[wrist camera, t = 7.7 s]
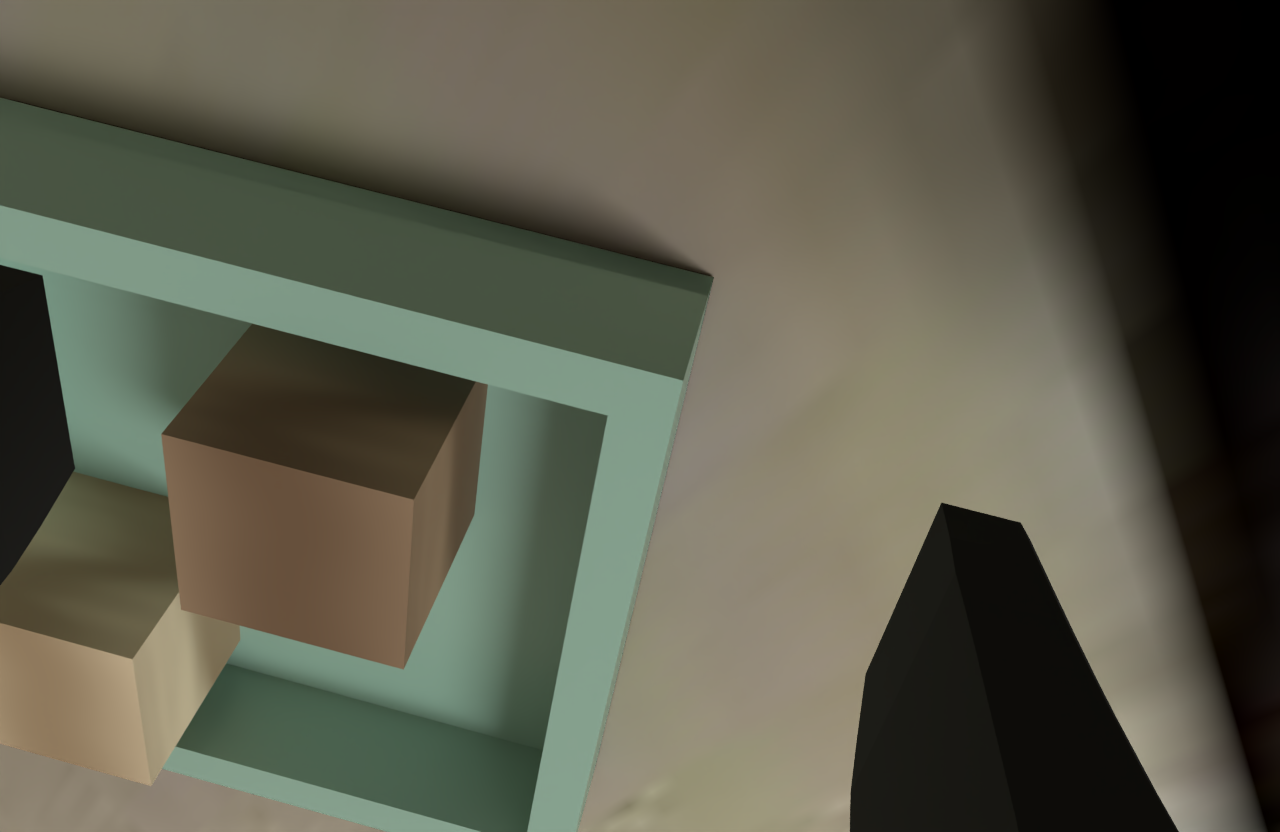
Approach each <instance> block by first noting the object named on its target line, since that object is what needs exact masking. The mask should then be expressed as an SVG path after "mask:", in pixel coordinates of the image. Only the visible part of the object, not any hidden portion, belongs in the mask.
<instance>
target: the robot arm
mask: <svg viewBox="0 0 1280 832" xmlns="http://www.w3.org/2000/svg"><path fill="white" fill-rule="evenodd" d="M74 470H75V465H74V459H73V453H72V447H71V441H70V435H69V429H68V423H67V417H66V411H65V406H64V400H63V394H62V388H61V382H60V376H59V370H58V364H57V358H56V352H55V346H54V340H53V334H52V328H51V322H50V316H49V310H48V304H47V299H46V293H45V287H44V281H43V275H39V274H35V273H31V272H27V271H23V270H19V269H15V268H11V267H7V266H3V265H0V585H1V584H2V583H3V581H4V580H5V579H6V578H7V576H8V575H9V574H10V573H11V571H12V570H13V568H14V567H15V565H16V564H17V562H18V561H19V559H20V558H21V556H22V555H23V553H24V551H25V550H26V548H27V547H28V545H29V544H30V542H31V541H32V539H33V538H34V536H35V534H36V533H37V531H38V530H39V528H40V527H41V525H42V524H43V522H44V520H45V518H46V517H47V515H48V513H49V512H50V510H51V508H52V507H53V505H54V503H55V502H56V500H57V498H58V497H59V495H60V493H61V492H62V490H63V488H64V486H65V485H66V483H67V481H68V480H69V478H70V476H71V475H72V473H73V471H74ZM850 832H1179V831H1178V830H1177V828H1176V826H1175V824H1174V823H1173V821H1172V819H1171V817H1170V816H1169V814H1168V812H1167V810H1166V809H1165V807H1164V805H1163V803H1162V801H1161V800H1160V798H1159V796H1158V794H1157V793H1156V791H1155V789H1154V787H1153V785H1152V783H1151V781H1150V780H1149V778H1148V776H1147V774H1146V772H1145V770H1144V768H1143V767H1142V765H1141V763H1140V761H1139V759H1138V757H1137V755H1136V753H1135V752H1134V750H1133V748H1132V746H1131V744H1130V742H1129V740H1128V739H1127V737H1126V735H1125V733H1124V731H1123V729H1122V727H1121V725H1120V724H1119V722H1118V720H1117V718H1116V716H1115V714H1114V712H1113V710H1112V708H1111V706H1110V705H1109V703H1108V701H1107V699H1106V697H1105V695H1104V693H1103V691H1102V689H1101V687H1100V685H1099V683H1098V681H1097V679H1096V677H1095V675H1094V673H1093V671H1092V669H1091V667H1090V665H1089V663H1088V661H1087V659H1086V657H1085V654H1084V652H1083V650H1082V648H1081V646H1080V644H1079V642H1078V640H1077V638H1076V636H1075V634H1074V632H1073V630H1072V628H1071V626H1070V624H1069V621H1068V619H1067V617H1066V615H1065V613H1064V611H1063V609H1062V607H1061V605H1060V603H1059V600H1058V598H1057V596H1056V594H1055V592H1054V590H1053V588H1052V586H1051V583H1050V581H1049V579H1048V577H1047V575H1046V573H1045V571H1044V568H1043V566H1042V564H1041V562H1040V560H1039V558H1038V556H1037V554H1036V551H1035V549H1034V547H1033V545H1032V543H1031V541H1030V539H1029V537H1028V535H1027V533H1026V531H1025V530H1024V528H1023V526H1022V524H1021V523H1019V522H1016V521H1012V520H1008V519H1004V518H1000V517H996V516H992V515H988V514H984V513H980V512H976V511H972V510H968V509H964V508H960V507H956V506H952V505H948V504H944V503H941V505H940V507H939V510H938V512H937V514H936V516H935V519H934V521H933V523H932V525H931V528H930V530H929V532H928V535H927V537H926V539H925V541H924V544H923V546H922V548H921V550H920V553H919V555H918V557H917V559H916V562H915V564H914V566H913V568H912V571H911V573H910V575H909V577H908V580H907V582H906V584H905V587H904V589H903V591H902V593H901V596H900V598H899V600H898V602H897V605H896V607H895V609H894V611H893V614H892V616H891V618H890V620H889V623H888V625H887V627H886V629H885V632H884V634H883V636H882V639H881V641H880V643H879V645H878V648H877V650H876V652H875V654H874V657H873V659H872V661H871V663H870V666H869V668H868V670H867V672H866V676H865V683H864V691H863V698H862V706H861V713H860V721H859V728H858V735H857V743H856V752H855V760H854V769H853V777H852V786H851V804H850Z"/></svg>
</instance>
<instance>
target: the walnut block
mask: <svg viewBox="0 0 1280 832" xmlns="http://www.w3.org/2000/svg"><path fill="white" fill-rule="evenodd" d="M487 389H488V384H484V383H480V382H476V381H472V380H468V379H465V378H461V377H457V376H453V375H449V374H445V373H441V372H438V371H434V370H430V369H426V368H422V367H418V366H414V365H411V364H407V363H403V362H399V361H395V360H391V359H387V358H384V357H380V356H376V355H372V354H368V353H364V352H360V351H357V350H353V349H349V348H345V347H341V346H337V345H333V344H330V343H326V342H322V341H318V340H314V339H310V338H306V337H303V336H299V335H295V334H291V333H287V332H283V331H279V330H275V329H272V328H268V327H264V326H260V325H256V324H251V326H250V327H249V328H248V329H247V331H246V332H245V333H244V334H243V335H242V337H241V338H240V339H239V340H238V341H237V343H236V344H235V345H234V346H233V348H232V349H231V350H230V351H229V352H228V354H227V355H226V356H225V357H224V358H223V360H222V361H221V362H220V363H219V364H218V366H217V367H216V368H215V369H214V371H213V372H212V373H211V374H210V375H209V377H208V378H207V379H206V380H205V381H204V383H203V384H202V385H201V386H200V388H199V389H198V390H197V391H196V392H195V394H194V395H193V396H192V397H191V398H190V400H189V401H188V402H187V403H186V404H185V406H184V407H183V408H182V409H181V411H180V412H179V413H178V414H177V415H176V417H175V418H174V419H173V420H172V421H171V423H170V424H169V425H168V426H167V428H166V429H165V430H164V431H163V432H162V434H161V437H162V446H163V455H164V464H165V472H166V481H167V490H168V499H169V508H170V517H171V526H172V534H173V543H174V552H175V561H176V570H177V579H178V588H179V596H180V605H181V610H184V611H187V612H191V613H195V614H199V615H202V616H206V617H210V618H213V619H217V620H221V621H225V622H228V623H232V624H236V625H240V626H243V627H247V628H251V629H254V630H258V631H262V632H266V633H269V634H273V635H277V636H280V637H284V638H288V639H292V640H295V641H299V642H303V643H306V644H310V645H314V646H318V647H321V648H325V649H329V650H332V651H336V652H340V653H344V654H347V655H351V656H355V657H359V658H362V659H366V660H370V661H373V662H377V663H381V664H385V665H388V666H392V667H396V668H399V669H403V670H404V668H405V666H406V663H407V661H408V659H409V657H410V655H411V652H412V650H413V648H414V646H415V644H416V641H417V639H418V637H419V635H420V633H421V631H422V628H423V626H424V624H425V622H426V620H427V617H428V615H429V613H430V611H431V609H432V606H433V604H434V602H435V600H436V598H437V596H438V593H439V591H440V589H441V587H442V585H443V582H444V580H445V578H446V576H447V574H448V572H449V569H450V567H451V565H452V563H453V561H454V558H455V556H456V554H457V552H458V550H459V547H460V545H461V543H462V541H463V539H464V537H465V534H466V532H467V530H468V528H469V526H470V523H471V521H472V519H473V517H474V514H475V504H476V495H477V485H478V475H479V466H480V456H481V447H482V437H483V427H484V418H485V408H486V399H487Z"/></svg>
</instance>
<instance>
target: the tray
mask: <svg viewBox="0 0 1280 832" xmlns="http://www.w3.org/2000/svg"><path fill="white" fill-rule="evenodd" d="M0 265H3V266H7V267H11V268H15V269H19V270H23V271H27V272H31V273H35V274H39V275H43V281H44V287H45V293H46V299H47V304H48V310H49V316H50V322H51V328H52V334H53V340H54V346H55V352H56V358H57V364H58V370H59V376H60V382H61V388H62V394H63V400H64V406H65V411H66V417H67V423H68V429H69V435H70V441H71V447H72V453H73V459H74V465H75V470H74V471H73V472H77V473H81V474H84V475H88V476H92V477H95V478H99V479H103V480H107V481H110V482H114V483H118V484H122V485H125V486H129V487H133V488H137V489H140V490H144V491H148V492H151V493H155V494H159V495H163V496H166V497H168V490H167V481H166V472H165V464H164V455H163V446H162V437H161V434H162V432H163V431H164V430H165V429H166V428H167V426H168V425H169V424H170V423H171V421H172V420H173V419H174V418H175V417H176V415H177V414H178V413H179V412H180V411H181V409H182V408H183V407H184V406H185V404H186V403H187V402H188V401H189V400H190V398H191V397H192V396H193V395H194V394H195V392H196V391H197V390H198V389H199V388H200V386H201V385H202V384H203V383H204V381H205V380H206V379H207V378H208V377H209V375H210V374H211V373H212V372H213V371H214V369H215V368H216V367H217V366H218V364H219V363H220V362H221V361H222V360H223V358H224V357H225V356H226V355H227V354H228V352H229V351H230V350H231V349H232V348H233V346H234V345H235V344H236V343H237V341H238V340H239V339H240V338H241V337H242V335H243V334H244V333H245V332H246V331H247V329H248V328H249V327H250V326H251V324H256V325H260V326H264V327H268V328H272V329H275V330H279V331H283V332H287V333H291V334H295V335H299V336H303V337H306V338H310V339H314V340H318V341H322V342H326V343H330V344H333V345H337V346H341V347H345V348H349V349H353V350H357V351H360V352H364V353H368V354H372V355H376V356H380V357H384V358H387V359H391V360H395V361H399V362H403V363H407V364H411V365H414V366H418V367H422V368H426V369H430V370H434V371H438V372H441V373H445V374H449V375H453V376H457V377H461V378H465V379H468V380H472V381H476V382H480V383H484V384H488V389H487V399H486V408H485V418H484V427H483V437H482V447H481V456H480V466H479V475H478V485H477V495H476V504H475V514H474V517H473V519H472V521H471V523H470V526H469V528H468V530H467V532H466V534H465V537H464V539H463V541H462V543H461V545H460V547H459V550H458V552H457V554H456V556H455V558H454V561H453V563H452V565H451V567H450V569H449V572H448V574H447V576H446V578H445V580H444V582H443V585H442V587H441V589H440V591H439V593H438V596H437V598H436V600H435V602H434V604H433V606H432V609H431V611H430V613H429V615H428V617H427V620H426V622H425V624H424V626H423V628H422V631H421V633H420V635H419V637H418V639H417V641H416V644H415V646H414V648H413V650H412V652H411V655H410V657H409V659H408V661H407V663H406V666H405V668H404V670H403V669H399V668H396V667H392V666H388V665H385V664H381V663H377V662H373V661H370V660H366V659H362V658H359V657H355V656H351V655H347V654H344V653H340V652H336V651H332V650H329V649H325V648H321V647H318V646H314V645H310V644H306V643H303V642H299V641H295V640H292V639H288V638H284V637H280V636H277V635H273V634H269V633H266V632H262V631H258V630H254V629H251V628H247V627H243V626H240V641H239V643H238V645H237V646H236V648H235V650H234V651H233V653H232V655H231V656H230V658H229V659H228V661H227V663H226V664H225V666H224V668H223V669H222V671H221V673H220V674H219V676H218V677H217V679H216V681H215V682H214V684H213V686H212V687H211V689H210V691H209V692H208V694H207V695H206V697H205V699H204V700H203V702H202V704H201V705H200V707H199V709H198V710H197V712H196V714H195V715H194V717H193V718H192V720H191V722H190V723H189V725H188V727H187V728H186V730H185V732H184V733H183V735H182V736H181V738H180V740H179V741H178V743H177V745H176V746H175V748H174V750H173V751H172V753H171V755H170V756H169V758H168V759H167V761H166V763H165V764H164V766H163V768H162V769H165V770H169V771H172V772H176V773H180V774H183V775H187V776H190V777H194V778H197V779H201V780H205V781H208V782H212V783H215V784H219V785H222V786H226V787H230V788H233V789H237V790H240V791H244V792H247V793H251V794H255V795H258V796H262V797H265V798H269V799H272V800H276V801H280V802H283V803H287V804H290V805H294V806H297V807H301V808H305V809H308V810H312V811H315V812H319V813H322V814H326V815H330V816H333V817H337V818H340V819H344V820H347V821H351V822H355V823H358V824H362V825H365V826H369V827H372V828H376V829H380V830H383V831H387V832H578V828H579V825H580V821H581V817H582V814H583V810H584V806H585V803H586V799H587V795H588V792H589V788H590V784H591V781H592V777H593V773H594V770H595V766H596V762H597V757H598V753H599V749H600V745H601V741H602V737H603V733H604V729H605V724H606V720H607V716H608V712H609V708H610V704H611V700H612V695H613V691H614V687H615V683H616V679H617V675H618V671H619V667H620V662H621V658H622V654H623V650H624V646H625V642H626V638H627V633H628V629H629V625H630V621H631V617H632V613H633V609H634V605H635V600H636V596H637V592H638V588H639V584H640V580H641V576H642V571H643V567H644V563H645V559H646V555H647V551H648V547H649V543H650V538H651V534H652V530H653V526H654V522H655V518H656V514H657V509H658V505H659V501H660V497H661V493H662V489H663V485H664V481H665V476H666V472H667V468H668V464H669V460H670V456H671V452H672V448H673V443H674V439H675V435H676V431H677V427H678V423H679V419H680V414H681V410H682V406H683V402H684V398H685V394H686V390H687V386H688V381H689V377H690V373H691V369H692V365H693V361H694V357H695V352H696V348H697V344H698V340H699V336H700V332H701V328H702V324H703V319H704V315H705V311H706V307H707V303H708V299H709V295H710V290H711V286H712V282H713V278H714V277H710V276H706V275H702V274H698V273H694V272H690V271H686V270H682V269H678V268H674V267H671V266H667V265H663V264H659V263H655V262H651V261H647V260H643V259H639V258H635V257H631V256H627V255H623V254H619V253H615V252H611V251H607V250H603V249H599V248H595V247H591V246H587V245H583V244H579V243H575V242H571V241H567V240H563V239H559V238H555V237H551V236H547V235H543V234H540V233H536V232H532V231H528V230H524V229H520V228H516V227H512V226H508V225H504V224H500V223H496V222H492V221H488V220H484V219H480V218H476V217H472V216H468V215H464V214H460V213H456V212H452V211H448V210H444V209H440V208H436V207H432V206H428V205H424V204H420V203H416V202H413V201H409V200H405V199H401V198H397V197H393V196H389V195H385V194H381V193H377V192H373V191H369V190H365V189H361V188H357V187H353V186H349V185H345V184H341V183H337V182H333V181H329V180H325V179H321V178H317V177H313V176H309V175H305V174H301V173H297V172H293V171H289V170H286V169H282V168H278V167H274V166H270V165H266V164H262V163H258V162H254V161H250V160H246V159H242V158H238V157H234V156H230V155H226V154H222V153H218V152H214V151H210V150H206V149H202V148H198V147H194V146H190V145H186V144H182V143H178V142H174V141H170V140H166V139H162V138H158V137H155V136H151V135H147V134H143V133H139V132H135V131H131V130H127V129H123V128H119V127H115V126H111V125H107V124H103V123H99V122H95V121H91V120H87V119H83V118H79V117H75V116H71V115H67V114H63V113H59V112H55V111H51V110H47V109H43V108H39V107H35V106H31V105H28V104H24V103H20V102H16V101H12V100H8V99H4V98H0Z"/></svg>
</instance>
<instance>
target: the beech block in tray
mask: <svg viewBox="0 0 1280 832" xmlns="http://www.w3.org/2000/svg"><path fill="white" fill-rule="evenodd" d="M239 641H240V625H236V624H232V623H228V622H225V621H221V620H217V619H213V618H210V617H206V616H202V615H199V614H195V613H191V612H187V611H184V610H181V605H180V596H179V588H178V579H177V570H176V561H175V552H174V543H173V534H172V526H171V517H170V508H169V499H168V497H166V496H163V495H159V494H155V493H151V492H148V491H144V490H140V489H137V488H133V487H129V486H125V485H122V484H118V483H114V482H110V481H107V480H103V479H99V478H95V477H92V476H88V475H84V474H81V473H77V472H73V473H72V475H71V476H70V478H69V480H68V481H67V483H66V485H65V486H64V488H63V490H62V492H61V493H60V495H59V497H58V498H57V500H56V502H55V503H54V505H53V507H52V508H51V510H50V512H49V513H48V515H47V517H46V518H45V520H44V522H43V524H42V525H41V527H40V528H39V530H38V531H37V533H36V534H35V536H34V538H33V539H32V541H31V542H30V544H29V545H28V547H27V548H26V550H25V551H24V553H23V555H22V556H21V558H20V559H19V561H18V562H17V564H16V565H15V567H14V568H13V570H12V571H11V573H10V574H9V575H8V576H7V578H6V579H5V580H4V581H3V583H2V584H1V585H0V744H3V745H7V746H10V747H14V748H18V749H21V750H25V751H28V752H32V753H35V754H39V755H43V756H46V757H50V758H53V759H57V760H60V761H64V762H67V763H71V764H75V765H78V766H82V767H85V768H89V769H92V770H96V771H99V772H103V773H107V774H110V775H114V776H117V777H121V778H124V779H128V780H132V781H135V782H139V783H142V784H146V785H149V786H152V784H153V782H154V781H155V779H156V777H157V776H158V774H159V773H160V771H161V769H162V768H163V766H164V764H165V763H166V761H167V759H168V758H169V756H170V755H171V753H172V751H173V750H174V748H175V746H176V745H177V743H178V741H179V740H180V738H181V736H182V735H183V733H184V732H185V730H186V728H187V727H188V725H189V723H190V722H191V720H192V718H193V717H194V715H195V714H196V712H197V710H198V709H199V707H200V705H201V704H202V702H203V700H204V699H205V697H206V695H207V694H208V692H209V691H210V689H211V687H212V686H213V684H214V682H215V681H216V679H217V677H218V676H219V674H220V673H221V671H222V669H223V668H224V666H225V664H226V663H227V661H228V659H229V658H230V656H231V655H232V653H233V651H234V650H235V648H236V646H237V645H238V643H239Z"/></svg>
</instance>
